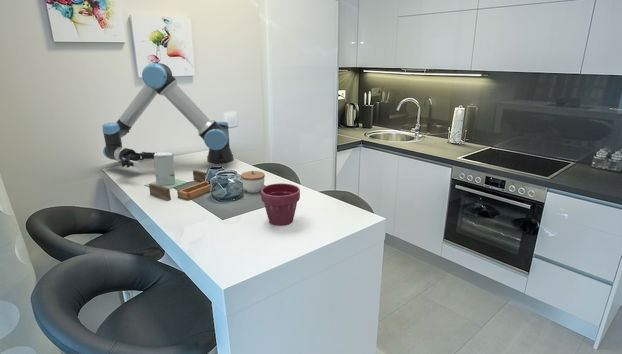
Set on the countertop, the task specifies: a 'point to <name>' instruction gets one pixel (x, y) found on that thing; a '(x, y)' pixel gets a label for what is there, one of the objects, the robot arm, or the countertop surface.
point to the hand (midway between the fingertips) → (151, 161)
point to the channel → (165, 192)
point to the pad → (177, 183)
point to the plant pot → (280, 202)
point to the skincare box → (164, 168)
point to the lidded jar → (253, 181)
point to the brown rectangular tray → (194, 191)
